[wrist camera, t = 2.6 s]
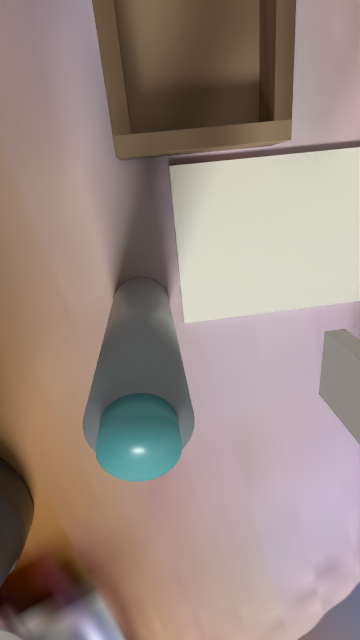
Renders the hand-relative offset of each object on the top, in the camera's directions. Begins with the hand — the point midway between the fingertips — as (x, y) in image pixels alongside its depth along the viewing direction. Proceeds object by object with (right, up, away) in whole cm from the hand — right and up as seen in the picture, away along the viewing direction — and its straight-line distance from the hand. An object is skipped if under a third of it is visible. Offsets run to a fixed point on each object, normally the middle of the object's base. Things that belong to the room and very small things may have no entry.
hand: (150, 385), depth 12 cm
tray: (+2, +15, +4) cm, 15 cm away
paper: (+8, +7, +8) cm, 13 cm away
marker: (-1, +3, +8) cm, 9 cm away
